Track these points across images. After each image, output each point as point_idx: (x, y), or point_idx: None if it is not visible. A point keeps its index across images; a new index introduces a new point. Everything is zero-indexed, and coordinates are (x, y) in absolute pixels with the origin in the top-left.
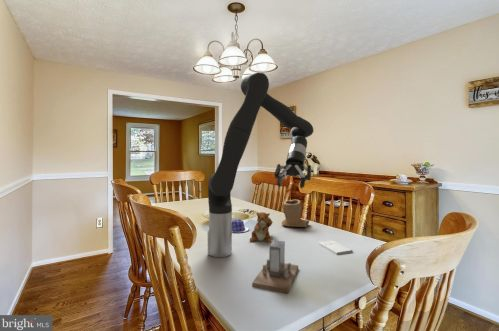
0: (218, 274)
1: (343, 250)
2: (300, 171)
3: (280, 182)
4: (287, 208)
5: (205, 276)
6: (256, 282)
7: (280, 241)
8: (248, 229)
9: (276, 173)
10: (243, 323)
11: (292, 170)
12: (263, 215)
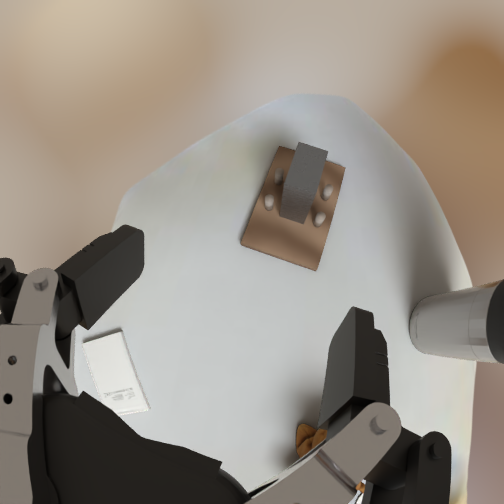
0: (412, 214)
1: (100, 343)
2: (15, 339)
3: (346, 340)
4: None
5: (429, 207)
6: (337, 167)
7: (297, 182)
8: (356, 502)
9: (428, 456)
10: (338, 99)
11: (123, 471)
12: None
